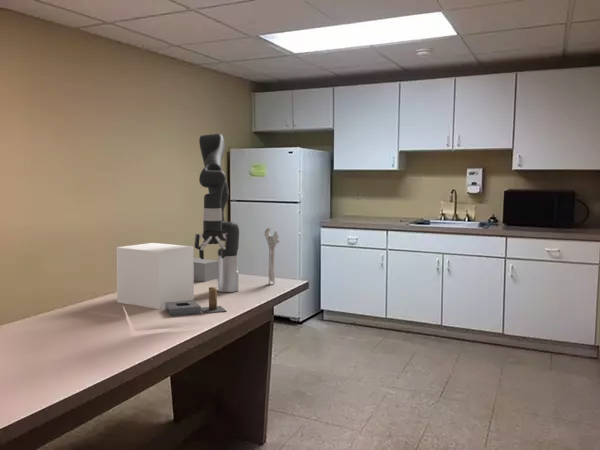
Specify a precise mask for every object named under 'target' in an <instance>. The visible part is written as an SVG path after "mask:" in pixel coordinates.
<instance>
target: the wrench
mask: <svg viewBox="0 0 600 450" xmlns="http://www.w3.org/2000/svg"><path fill="white" fill-rule="evenodd" d="M271 228H272V227H268V228H266V229H265V231H264V237H265V241H266V242H267V246H268V285H271V282H272V283H273V284H272V285H275V284H276V246H277V244H279V243H280V241H281V240H280V239H279V238H280V237H279V232H278V230H277V229H276V230H275V231H274V232H273V235H271V233H270V232H271Z"/></svg>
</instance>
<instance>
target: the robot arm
mask: <svg viewBox="0 0 600 450" xmlns="http://www.w3.org/2000/svg"><path fill="white" fill-rule="evenodd" d="M225 144H226V143H225V138H224V136H223V135H222V134H221V133H211V134H203V135H200V137H199V149H200V153H201V158H202V160H203V165H204V167H203V168H202V170H201V172H200V174H199V176H198V177H199V180H198V181H199V184H200V185H201V187H203V188H207V189H208V193H206V194H205V195H204V196H203V214H202V215H203V217H202V222H203V223H202V225H203V226H202V228H203V229H202V233H201V234H200V233H195V235H194V248H195V249H196V250H199V251H198V252H199V253H198V254H199V256H198V258H199V259H205V258H204V257H205V256H204V251H205V250H204V249H205V247H206V246H208V245H217V244H218V246H219V247H220V248H219V249H218V250H217V261H218V279H217V291H218V292H220V293H233V292H238V291H239V271H238V251H239V244H240V241H239V240H240V227H239V224H238V223H236V222H233V221H226V220H225V216H224V213H225V212H224V211H225V207H226V206H227V203H228V201H229V196H230V191H229V185H228V181H227V175H226V173H225V172H224V171H223V170H222V161H223V157H224V155H225V152H226V145H225ZM201 238H202V239H203V241H202V243H201V244H200V240H201ZM223 242H225V244H224V243H223Z"/></svg>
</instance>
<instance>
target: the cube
mask: <svg viewBox="0 0 600 450" xmlns="http://www.w3.org/2000/svg"><path fill="white" fill-rule="evenodd" d="M194 248H195V246H191V245H181V244H170V243H159V242H148V243H140V244H132V245H125V246H124V245H123V246H117V247H116V295H117V296H116V299H117V301H116V302H117V303H120V304H126V305H133V306H140V307H146V308H151V309H156V310H161V309H165V302H177V301H190V300H195V290H194V289H195V286H194V285H195V282H194V281H195V280H194V258H195V257H194V254H195V253H194Z"/></svg>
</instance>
